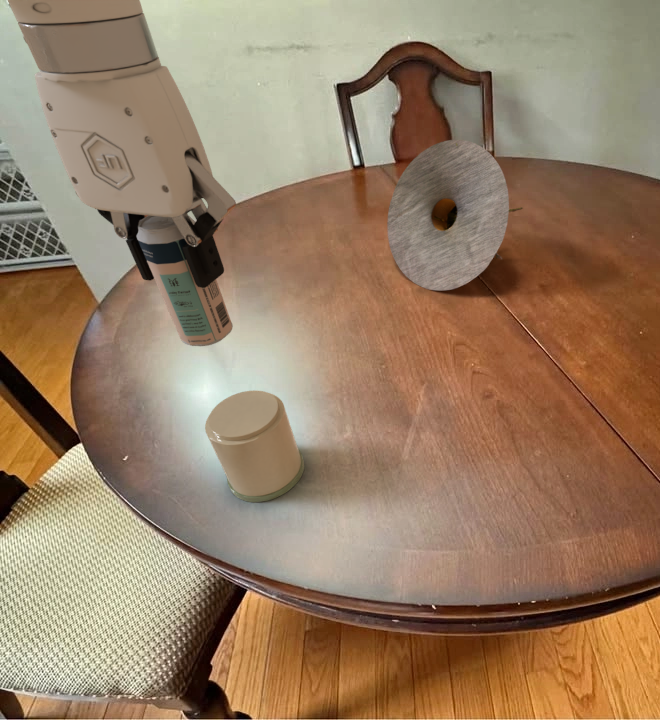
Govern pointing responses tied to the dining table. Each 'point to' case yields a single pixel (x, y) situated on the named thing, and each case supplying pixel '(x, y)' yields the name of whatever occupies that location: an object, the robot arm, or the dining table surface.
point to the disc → (448, 215)
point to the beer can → (182, 284)
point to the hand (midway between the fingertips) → (184, 274)
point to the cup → (255, 445)
